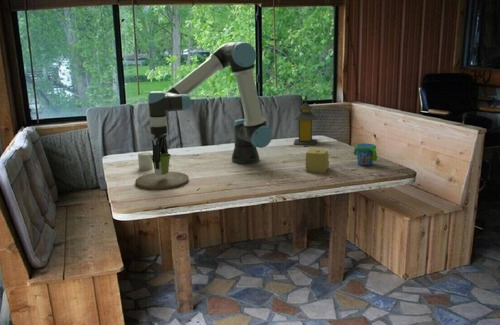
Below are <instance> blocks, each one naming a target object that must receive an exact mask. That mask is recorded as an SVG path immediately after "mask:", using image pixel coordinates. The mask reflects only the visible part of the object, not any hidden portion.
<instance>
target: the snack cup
mask: <svg viewBox="0 0 500 325" xmlns="http://www.w3.org/2000/svg"><path fill="white" fill-rule="evenodd" d="M354 145H355V146H354V150H353V154H354V156H356V161H357V165H360V166H371V165H373V163H374V162H376V161H377V159H378V156H377V155H378V154H377V151H376V149H377V145H375V144H373V143H357V144H354Z"/></svg>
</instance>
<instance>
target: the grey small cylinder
mask: <svg viewBox="0 0 500 325" xmlns="http://www.w3.org/2000/svg"><path fill="white" fill-rule="evenodd" d="M151 155H153V152H150V151H149V152H148V151H147V152H146V151H145V152H140V153H139V152H138V153H137V159H138V160H137V162H138V170H139V171H146V172H147V171H150V170H153V168H154V165H153V160H152V158H151Z"/></svg>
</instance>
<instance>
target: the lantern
mask: <svg viewBox="0 0 500 325" xmlns="http://www.w3.org/2000/svg"><path fill="white" fill-rule="evenodd" d="M307 100H308V95H304V103H303V104H302V105H301V106H300V108H299V109H300V111H299V113H297V115H296V116H295V117H294V121H295V120H296V121H298V138H295V139H294V141H293V145H294V146H317V142H318V139H316V138H313V121H316V120H317V119H318V118H317V116H316V114H315V113H314V112H312V111H311V109H312V106H311V105H310V104H309V103H308V101H307Z"/></svg>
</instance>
